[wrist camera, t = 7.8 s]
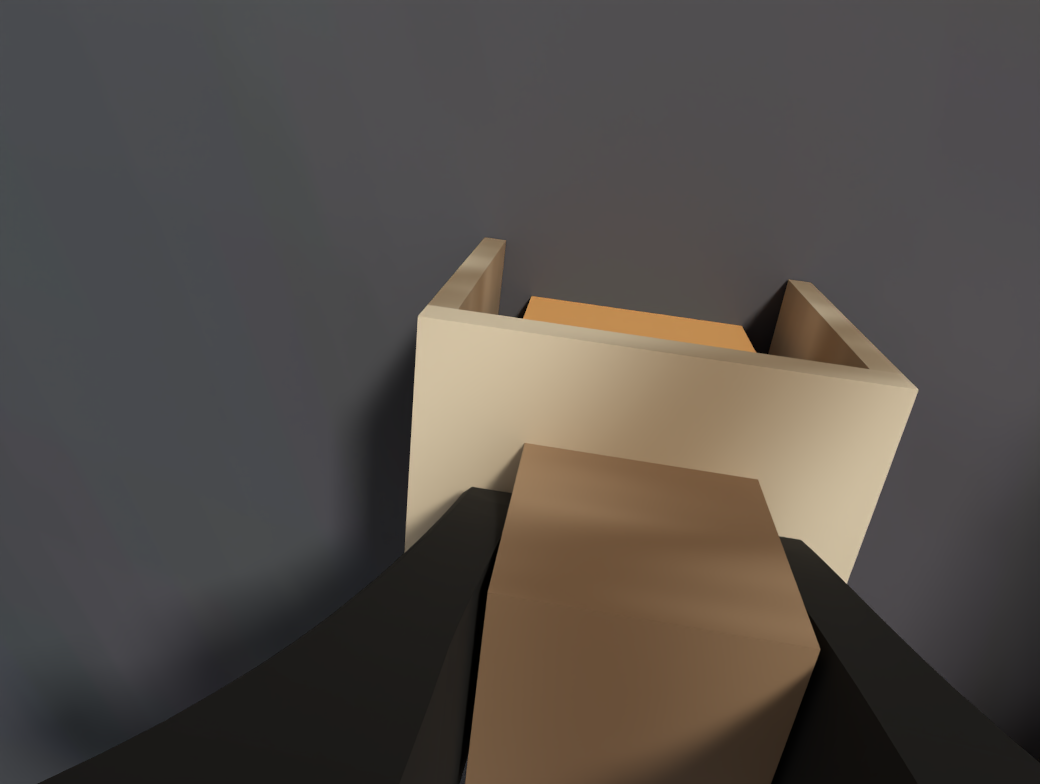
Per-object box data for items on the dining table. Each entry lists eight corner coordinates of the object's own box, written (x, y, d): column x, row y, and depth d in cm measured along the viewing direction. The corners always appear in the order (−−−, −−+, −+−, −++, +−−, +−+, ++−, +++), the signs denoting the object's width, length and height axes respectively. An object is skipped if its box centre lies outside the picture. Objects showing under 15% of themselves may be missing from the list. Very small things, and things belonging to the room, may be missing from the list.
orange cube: (741, 324, 14) (789, 413, 10) (695, 509, 15) (720, 643, 12) (531, 294, 14) (502, 370, 10) (509, 480, 15) (477, 602, 12)
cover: (811, 282, 13) (1068, 537, 6) (734, 553, 15) (843, 977, 8) (485, 236, 13) (328, 421, 6) (460, 508, 16) (326, 874, 8)
